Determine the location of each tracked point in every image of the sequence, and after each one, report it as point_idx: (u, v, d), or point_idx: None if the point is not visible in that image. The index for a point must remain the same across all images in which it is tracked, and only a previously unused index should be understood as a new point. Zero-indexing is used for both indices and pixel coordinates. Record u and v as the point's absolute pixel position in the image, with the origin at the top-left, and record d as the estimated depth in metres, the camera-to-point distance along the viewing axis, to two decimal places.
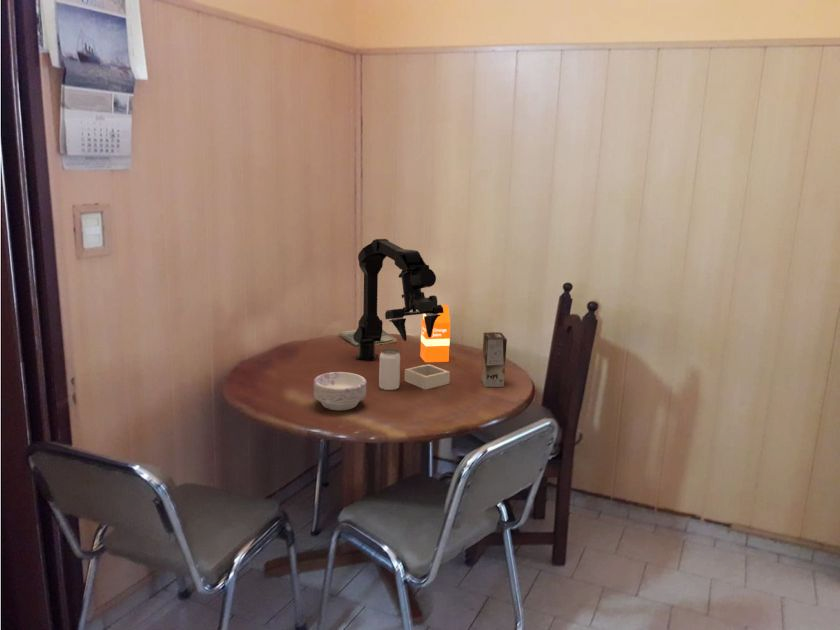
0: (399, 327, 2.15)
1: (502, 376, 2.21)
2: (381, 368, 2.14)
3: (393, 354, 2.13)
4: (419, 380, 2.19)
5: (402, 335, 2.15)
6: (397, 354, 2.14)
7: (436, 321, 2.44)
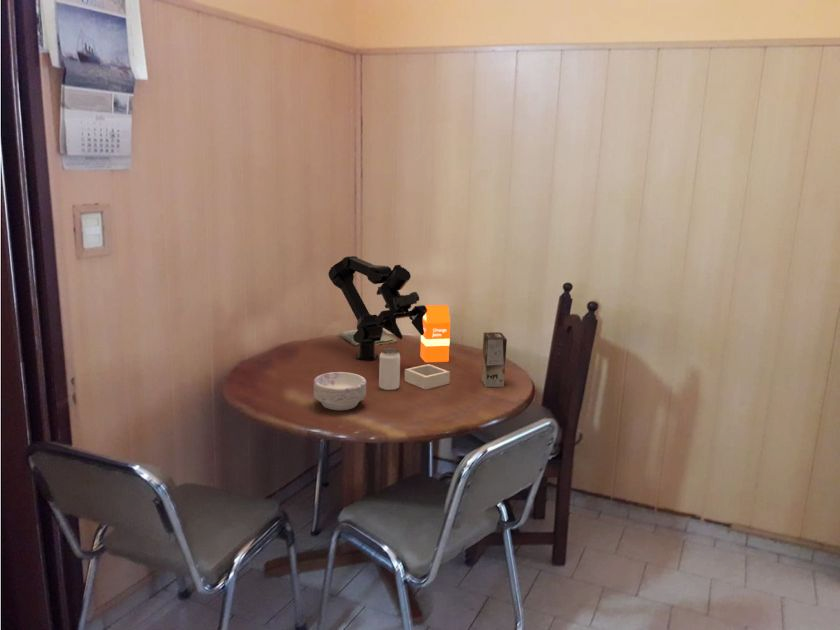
0: (392, 329, 2.25)
1: (502, 376, 2.21)
2: (381, 368, 2.14)
3: (393, 354, 2.13)
4: (419, 380, 2.19)
5: (397, 334, 2.24)
6: (397, 354, 2.14)
7: (436, 321, 2.44)
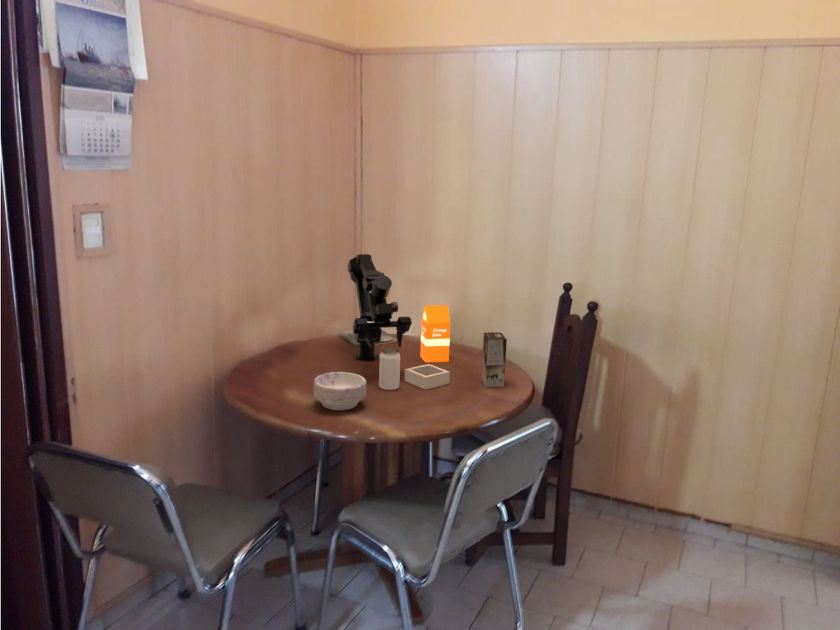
0: (366, 337, 2.21)
1: (502, 376, 2.21)
2: (381, 368, 2.14)
3: (393, 354, 2.13)
4: (419, 380, 2.19)
5: (369, 343, 2.20)
6: (397, 354, 2.14)
7: (436, 321, 2.44)
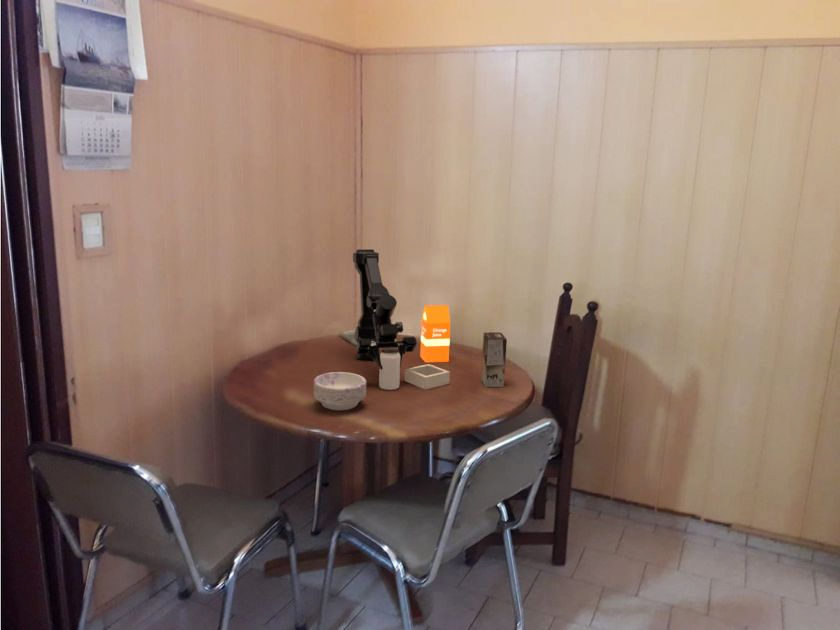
0: (375, 358, 2.16)
1: (502, 376, 2.21)
2: None
3: (393, 354, 2.13)
4: (419, 380, 2.19)
5: (378, 364, 2.15)
6: (397, 354, 2.14)
7: (436, 321, 2.43)
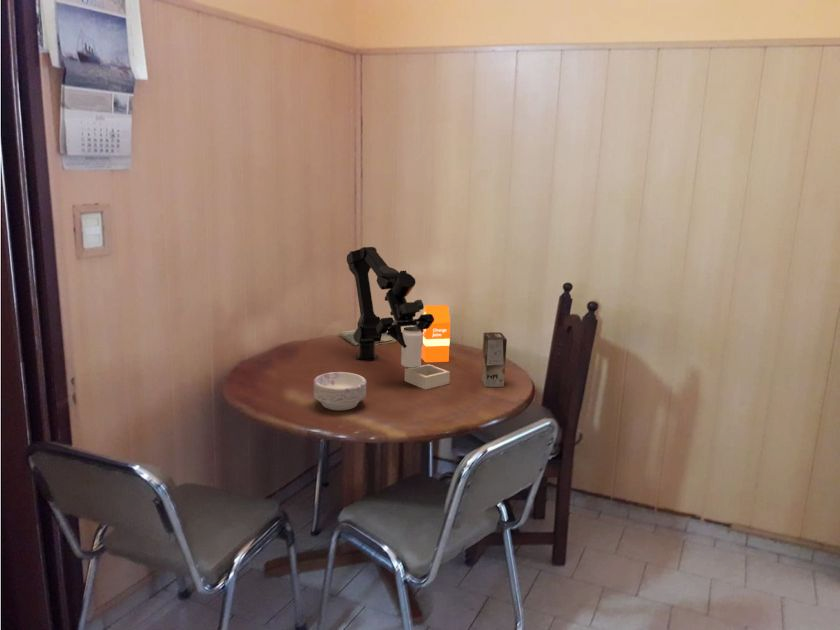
0: (397, 336, 2.17)
1: (502, 376, 2.21)
2: None
3: (417, 331, 2.14)
4: (419, 380, 2.19)
5: (401, 343, 2.16)
6: (420, 331, 2.16)
7: (436, 321, 2.44)
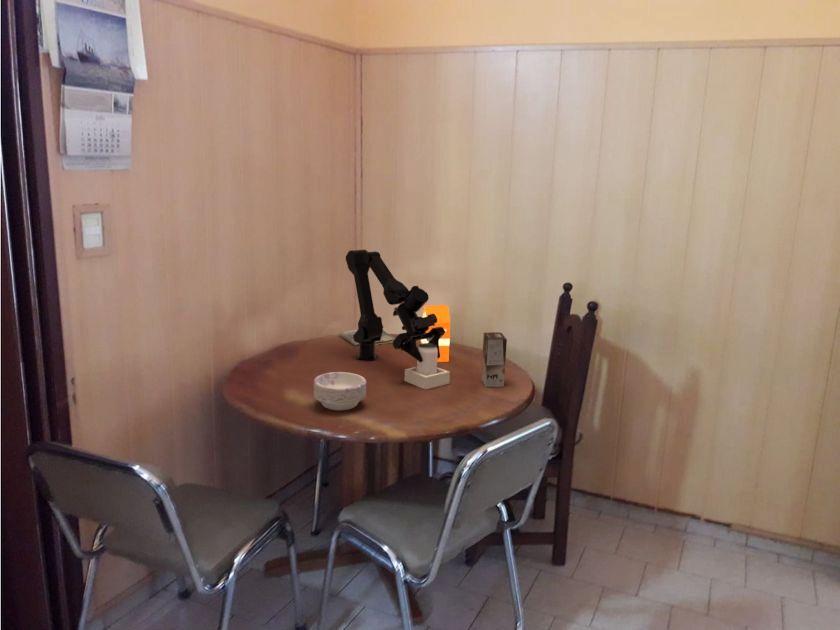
0: (412, 351, 2.20)
1: (502, 376, 2.21)
2: (422, 363, 2.20)
3: (434, 348, 2.20)
4: (419, 380, 2.19)
5: (417, 357, 2.19)
6: (436, 347, 2.21)
7: None
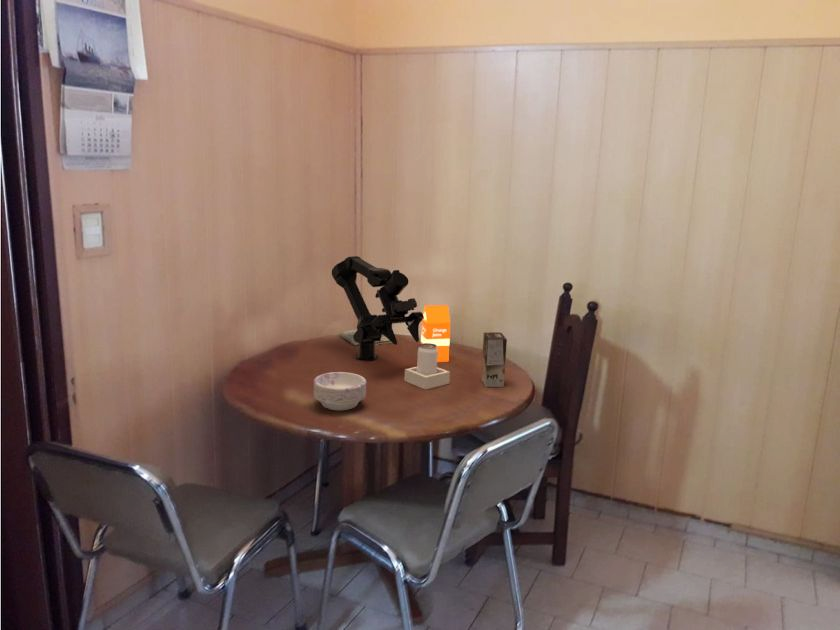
0: (387, 333, 2.25)
1: (502, 376, 2.21)
2: (422, 363, 2.20)
3: (434, 348, 2.20)
4: (419, 380, 2.19)
5: (392, 339, 2.24)
6: (436, 348, 2.21)
7: (436, 321, 2.44)
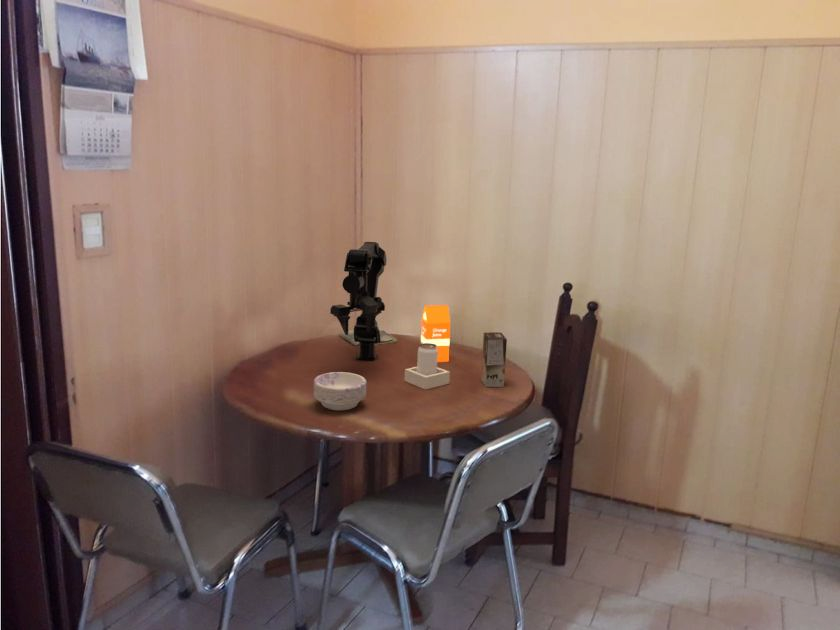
0: (342, 322, 2.27)
1: (502, 376, 2.21)
2: (422, 363, 2.20)
3: (434, 348, 2.20)
4: (419, 380, 2.19)
5: (344, 330, 2.28)
6: (436, 348, 2.21)
7: (436, 321, 2.44)
